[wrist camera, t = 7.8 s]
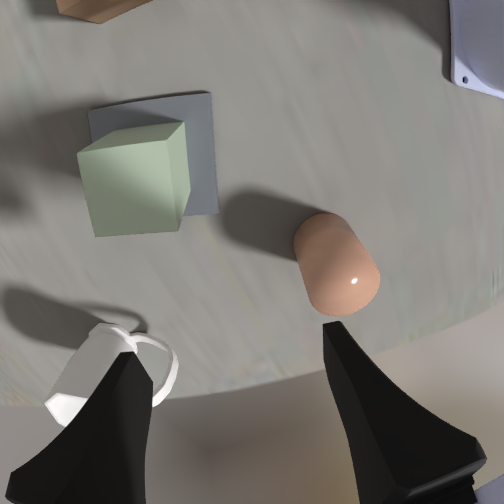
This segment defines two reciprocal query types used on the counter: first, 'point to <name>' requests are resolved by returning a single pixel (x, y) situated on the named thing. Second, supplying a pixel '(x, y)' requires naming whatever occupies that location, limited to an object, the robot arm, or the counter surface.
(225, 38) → the counter surface
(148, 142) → the sage block
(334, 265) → the terracotta cylinder
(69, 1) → the walnut block
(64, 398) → the cup
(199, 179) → the slate coaster
